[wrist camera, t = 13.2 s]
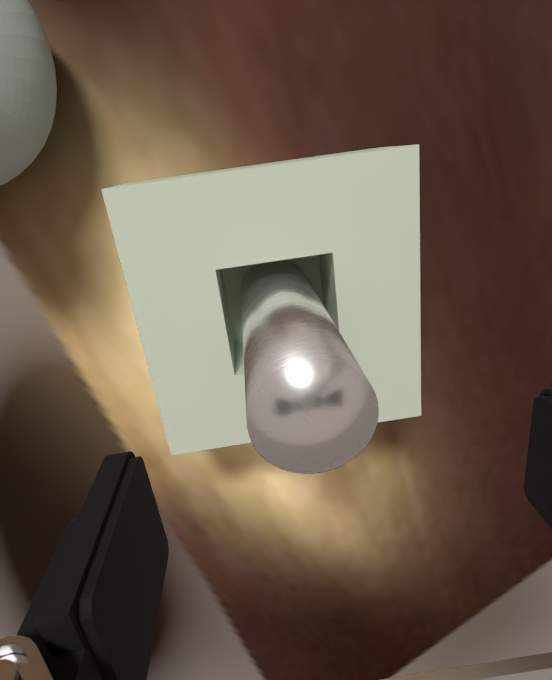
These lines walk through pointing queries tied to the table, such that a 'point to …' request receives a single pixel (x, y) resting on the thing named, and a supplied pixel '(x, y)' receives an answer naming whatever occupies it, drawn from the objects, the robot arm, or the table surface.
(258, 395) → the steel peg
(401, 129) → the table surface
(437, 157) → the table surface
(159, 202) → the socket block
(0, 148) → the air freshener
